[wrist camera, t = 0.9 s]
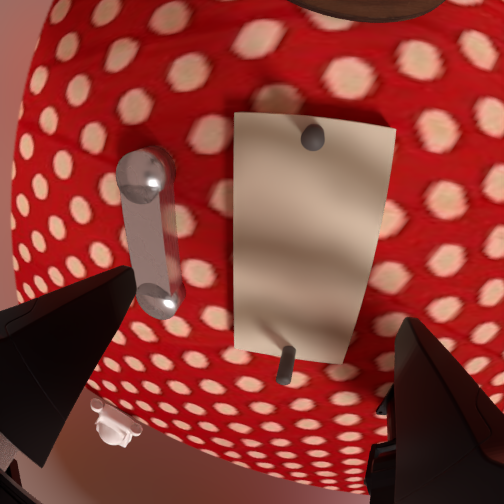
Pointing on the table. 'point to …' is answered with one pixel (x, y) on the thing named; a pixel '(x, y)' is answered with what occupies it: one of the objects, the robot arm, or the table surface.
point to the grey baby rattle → (152, 229)
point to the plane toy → (114, 424)
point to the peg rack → (304, 231)
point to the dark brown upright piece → (370, 9)
